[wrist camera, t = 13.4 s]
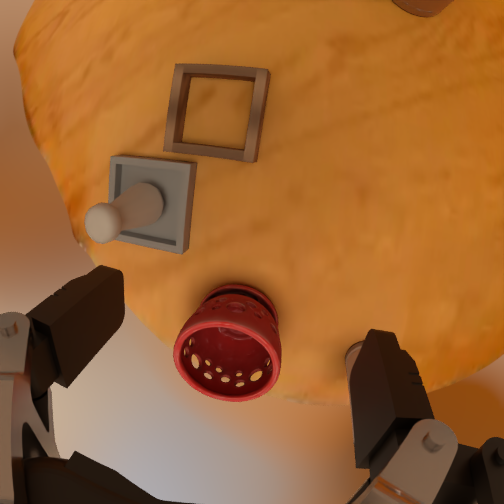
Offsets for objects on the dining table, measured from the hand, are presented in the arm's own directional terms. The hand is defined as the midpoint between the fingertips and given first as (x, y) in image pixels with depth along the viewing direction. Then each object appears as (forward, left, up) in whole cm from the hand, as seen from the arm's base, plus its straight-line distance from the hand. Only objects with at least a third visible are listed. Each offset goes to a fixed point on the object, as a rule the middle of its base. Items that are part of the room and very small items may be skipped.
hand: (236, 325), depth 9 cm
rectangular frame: (-8, -10, -31) cm, 34 cm away
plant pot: (+20, -3, -32) cm, 38 cm away
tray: (+5, -18, -31) cm, 36 cm away
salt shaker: (+5, -18, -31) cm, 36 cm away
